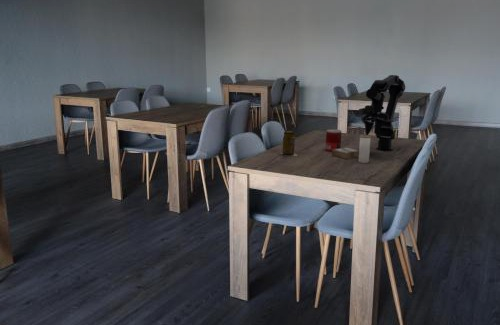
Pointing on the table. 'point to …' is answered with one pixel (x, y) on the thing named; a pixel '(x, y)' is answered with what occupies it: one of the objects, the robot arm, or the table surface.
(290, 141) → the condiment
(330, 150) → the canned food
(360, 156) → the tumbler
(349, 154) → the plinth
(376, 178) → the table surface
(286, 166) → the table surface
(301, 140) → the table surface
